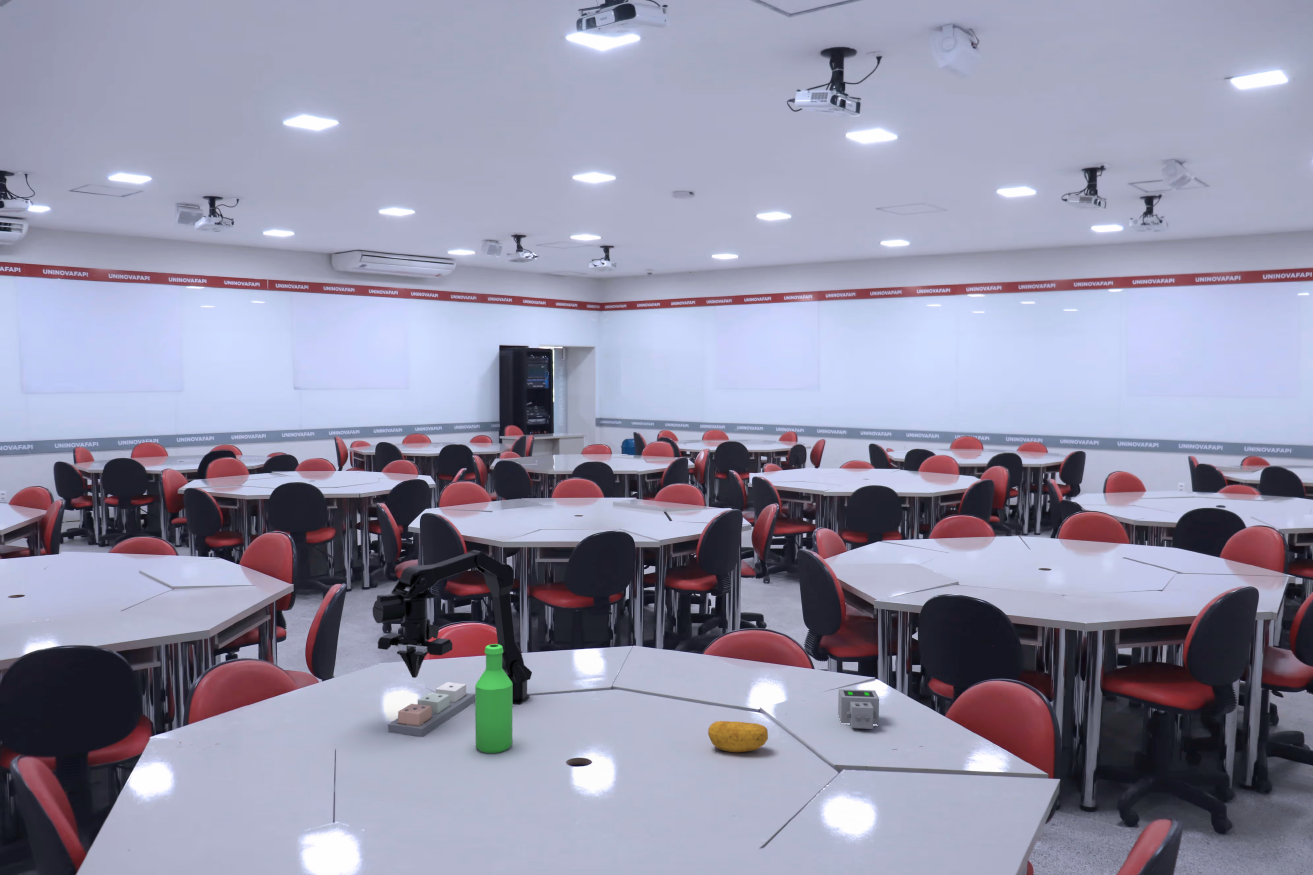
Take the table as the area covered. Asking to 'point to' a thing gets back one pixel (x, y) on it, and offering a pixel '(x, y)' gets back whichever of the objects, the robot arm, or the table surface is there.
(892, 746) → the table surface
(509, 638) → the robot arm
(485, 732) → the bottle
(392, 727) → the board
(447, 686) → the tile
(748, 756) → the table surface
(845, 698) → the toy
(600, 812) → the table surface
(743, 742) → the potato
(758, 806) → the table surface
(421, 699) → the tile
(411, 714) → the tile
